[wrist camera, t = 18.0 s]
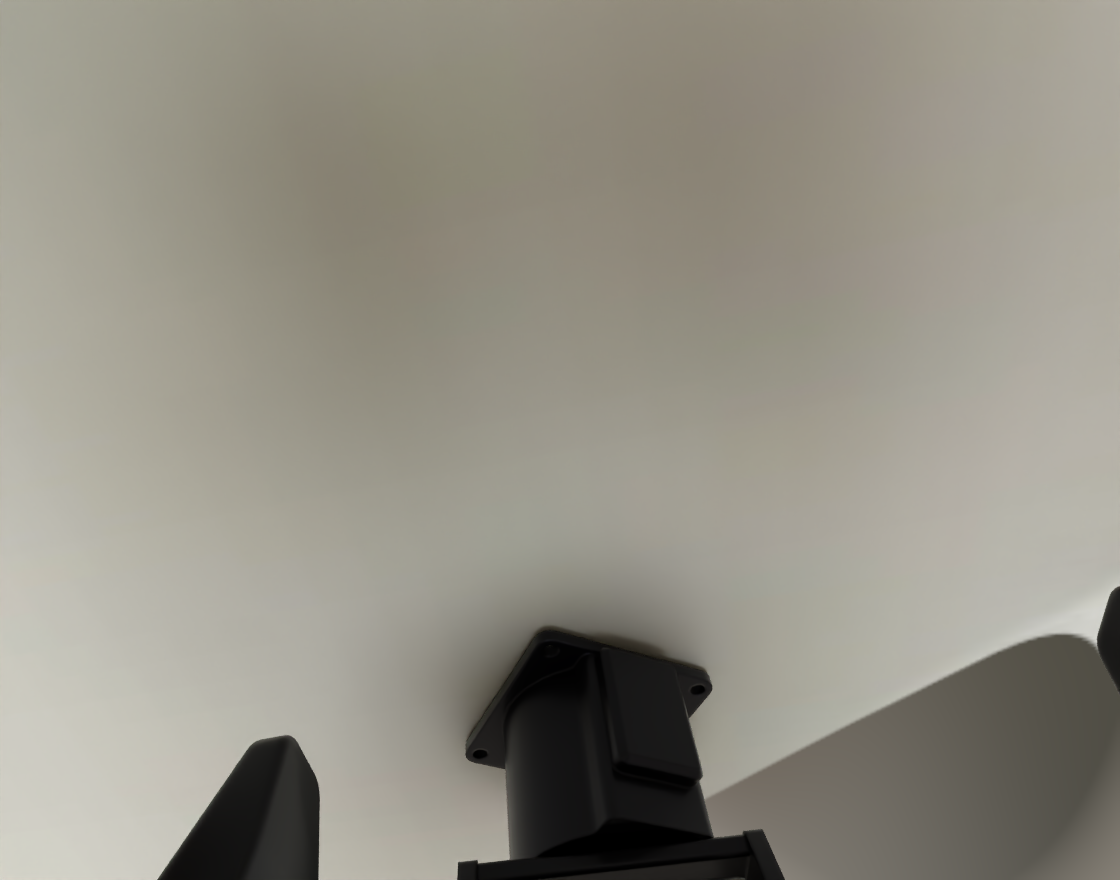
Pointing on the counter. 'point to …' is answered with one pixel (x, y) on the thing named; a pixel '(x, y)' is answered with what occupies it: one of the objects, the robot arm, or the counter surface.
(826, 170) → the counter surface
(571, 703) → the robot arm
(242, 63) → the counter surface
